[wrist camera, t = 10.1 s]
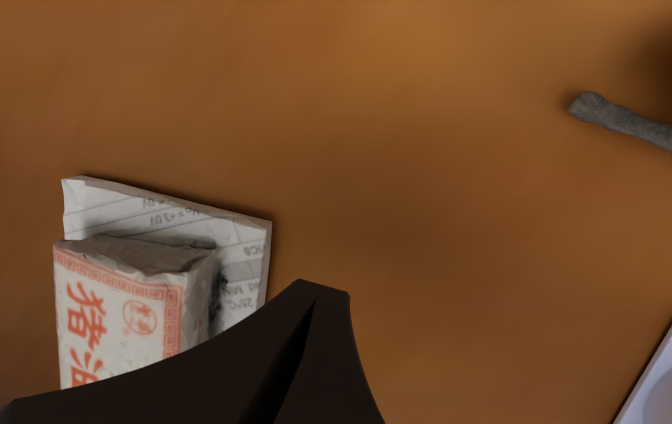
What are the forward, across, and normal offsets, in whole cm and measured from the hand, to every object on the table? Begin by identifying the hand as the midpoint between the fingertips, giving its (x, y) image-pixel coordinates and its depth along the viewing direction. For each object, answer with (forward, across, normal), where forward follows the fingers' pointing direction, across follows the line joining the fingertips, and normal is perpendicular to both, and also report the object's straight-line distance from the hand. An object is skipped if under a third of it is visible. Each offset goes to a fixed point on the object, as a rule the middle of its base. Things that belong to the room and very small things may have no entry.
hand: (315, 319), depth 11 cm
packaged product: (+10, +8, +11) cm, 17 cm away
